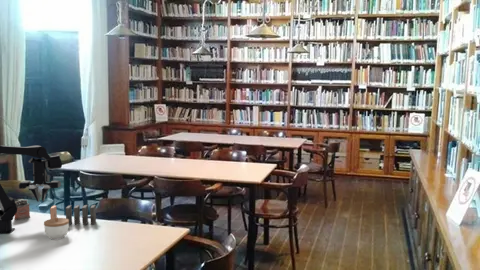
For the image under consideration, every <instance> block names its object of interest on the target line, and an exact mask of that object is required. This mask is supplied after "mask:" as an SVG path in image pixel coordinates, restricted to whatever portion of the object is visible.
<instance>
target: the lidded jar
mask: <svg viewBox="0 0 480 270" xmlns="http://www.w3.org/2000/svg"><path fill="white" fill-rule="evenodd" d="M43 226H44V232H45V235H46V236H47V237H48V238H49V239H51V240H62V239H64V238H65V236H66V235H67V233H68V232H69V229H70V228H69V227H70V225H69V219H66V217H58V216H57V217H56V218H54V219H51V218H49V219H46V220H45V221H44V222H43Z"/></svg>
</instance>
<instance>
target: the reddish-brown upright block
mask: <svg viewBox="0 0 480 270" xmlns="http://www.w3.org/2000/svg"><path fill="white" fill-rule="evenodd" d="M15 203H16V205H17V206H18V207H17V213H16V214H15V215H14V217H13V220H14V221H21V220H26V219H29V218H31V215H30V213H31V212H30V211H31V210H30V205H31V204H30V203H29V202H28V199H20V200H17V201H16V200H15Z"/></svg>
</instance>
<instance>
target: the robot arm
mask: <svg viewBox="0 0 480 270" xmlns="http://www.w3.org/2000/svg"><path fill="white" fill-rule="evenodd" d="M2 154H3V155H23V156H29V157H31V158H30V159H29V160H28V163H30V164H32V171H33V173H32V176H33V182H31V181H30V180H23V181H20V183H18V189H20V190H22V189H26V188H27V187H28V191H30V192H31V193H32V194H33V195H34V197H35V199H36V201H37V203H38V202H40V196H39V187H43V188H41V201H42V202H44V201H45V199H46V195H47V193H48V191H49V190H50V189H58V188H60V187H61V186H62V182H61V181H60V180H51V181H50V178H51V177H50V175H48V173H47V169H48V170H49V171H50V170H57V169H58V170H59V169H62V165H63V163H62V159H61V156H60V155H58V154H57V155H53V156H50V155H49V154H48V152H47V149H46V147H44V146H41V145H29V146H13V145H12V146H11V145H10V146H9V145H0V155H2ZM15 201H16V200H15V199H14V198H13V197H11V196H8V195H7V193H6V192H5V189H4V187H3V186H2V184H1V183H0V234H11V233H12V232H13V231H15V229H16V228H15V227H13V225H12V224H13V223H12V221H13V220H14V218H15V216H14V215H15V214H16V213H17V207H18V206H17V205H18V204H16V203H15Z"/></svg>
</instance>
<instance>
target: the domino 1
mask: <svg viewBox="0 0 480 270" xmlns="http://www.w3.org/2000/svg"><path fill="white" fill-rule="evenodd" d="M49 209H50V210H49V211H50V219H54V218H56V217H58V214H57V210H58V209H57V205H52V206H51V207H50V208H49Z"/></svg>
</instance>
